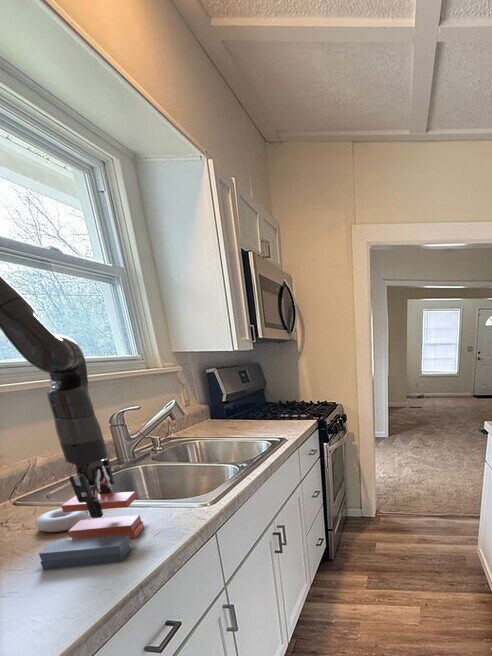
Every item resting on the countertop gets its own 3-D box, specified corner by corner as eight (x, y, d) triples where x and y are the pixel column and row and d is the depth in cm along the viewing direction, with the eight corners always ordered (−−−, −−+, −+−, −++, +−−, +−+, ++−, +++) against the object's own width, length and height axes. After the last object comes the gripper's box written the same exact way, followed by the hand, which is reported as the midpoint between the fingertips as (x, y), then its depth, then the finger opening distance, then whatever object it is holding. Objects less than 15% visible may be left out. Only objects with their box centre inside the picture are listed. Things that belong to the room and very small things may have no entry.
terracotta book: (63, 512, 86) (61, 505, 85) (76, 502, 91) (74, 495, 91) (127, 507, 89) (125, 500, 88) (136, 497, 94) (135, 491, 93)
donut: (27, 533, 94) (63, 535, 92) (22, 520, 93) (58, 522, 91) (65, 516, 103) (99, 518, 102) (61, 504, 102) (95, 506, 100)
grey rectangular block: (43, 570, 79) (36, 553, 77) (56, 556, 84) (51, 541, 82) (123, 561, 82) (119, 545, 80) (132, 549, 87) (128, 534, 85)
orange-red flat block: (72, 544, 89) (67, 531, 88) (84, 532, 94) (80, 519, 93) (135, 537, 91) (132, 525, 90) (144, 526, 97) (140, 514, 96)
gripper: (77, 432, 90) (98, 501, 96) (42, 447, 77) (69, 526, 83) (114, 430, 91) (132, 498, 98) (86, 444, 78) (109, 522, 85)
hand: (103, 511), depth 91 cm, fingers closed on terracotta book, 6 cm apart
